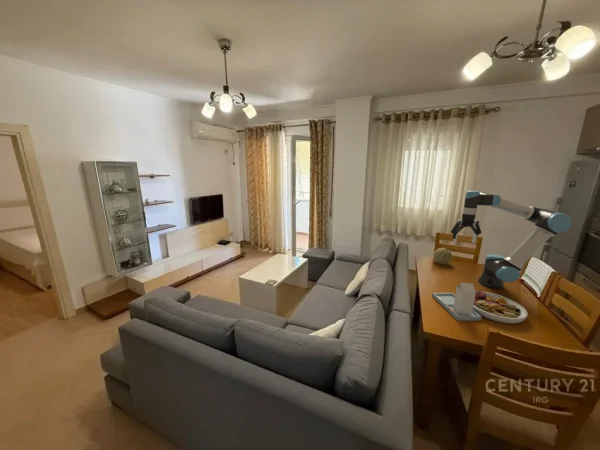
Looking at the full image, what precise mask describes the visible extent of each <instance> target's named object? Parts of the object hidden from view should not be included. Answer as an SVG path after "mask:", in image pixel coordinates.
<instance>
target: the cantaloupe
mask: <svg viewBox="0 0 600 450" xmlns="http://www.w3.org/2000/svg"><path fill="white" fill-rule="evenodd" d="M433 258H434V260H435V261H436V262H437V264H438V263H439V264H441V265H445V264H446V265H447V264H449V263H451V261H452V259H453V254H452V252H451V251H450V250H449V249H448V248H446V247H438V248H437V249H436V250H435V251H434V252H433Z"/></svg>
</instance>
